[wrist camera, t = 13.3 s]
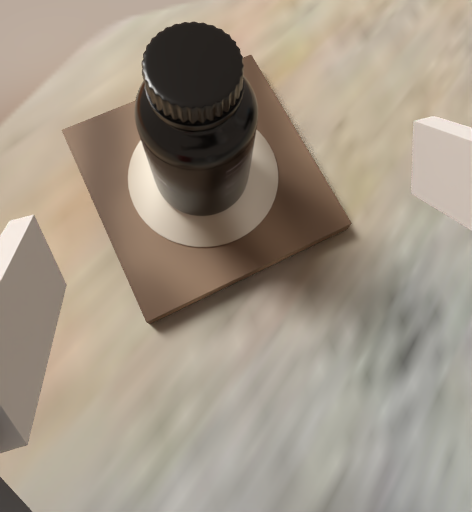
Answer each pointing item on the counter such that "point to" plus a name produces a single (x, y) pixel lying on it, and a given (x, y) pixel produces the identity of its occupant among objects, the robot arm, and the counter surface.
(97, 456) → the counter surface
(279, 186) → the walnut board
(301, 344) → the counter surface
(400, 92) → the counter surface
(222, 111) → the supplement bottle
